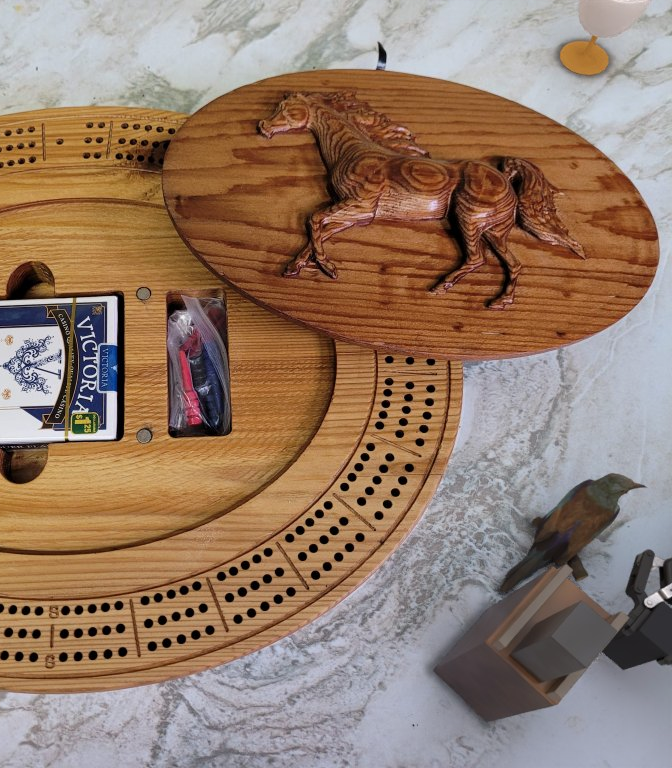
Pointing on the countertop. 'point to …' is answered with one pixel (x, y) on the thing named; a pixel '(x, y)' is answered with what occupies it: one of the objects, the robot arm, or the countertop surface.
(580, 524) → the bird figurine
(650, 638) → the back pad
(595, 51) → the cup
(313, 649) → the countertop surface
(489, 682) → the pedestal
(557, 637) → the pad mount
